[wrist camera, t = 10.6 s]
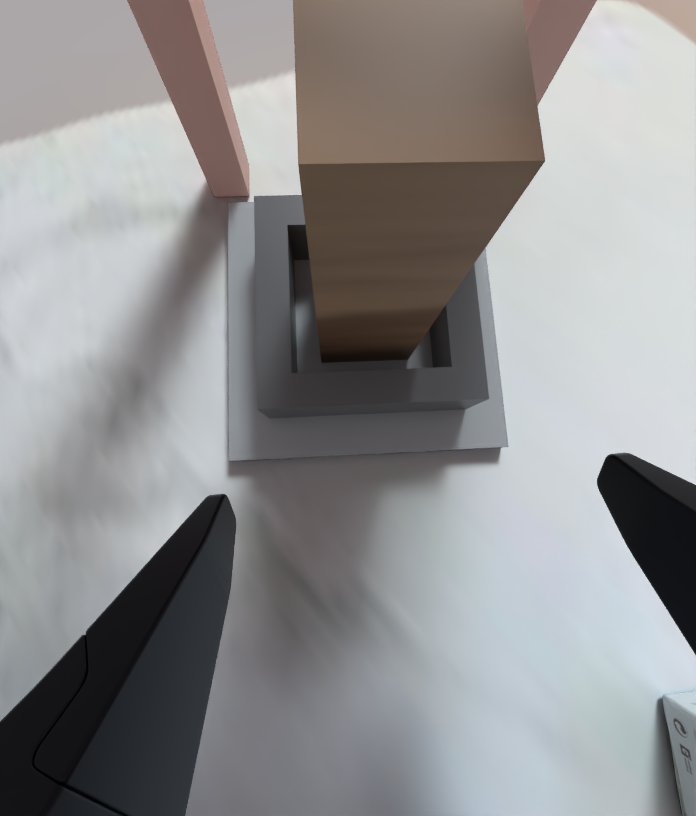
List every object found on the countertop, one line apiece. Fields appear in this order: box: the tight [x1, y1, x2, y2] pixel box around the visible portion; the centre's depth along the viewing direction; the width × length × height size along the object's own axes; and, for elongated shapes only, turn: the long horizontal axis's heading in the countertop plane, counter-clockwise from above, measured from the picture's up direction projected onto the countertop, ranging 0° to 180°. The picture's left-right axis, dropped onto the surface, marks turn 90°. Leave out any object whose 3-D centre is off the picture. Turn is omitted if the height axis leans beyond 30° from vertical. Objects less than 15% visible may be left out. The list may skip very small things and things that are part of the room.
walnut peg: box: [293, 0, 545, 363], centre depth 14 cm, size 4×4×13 cm
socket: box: [228, 195, 508, 461], centre depth 19 cm, size 14×14×4 cm
